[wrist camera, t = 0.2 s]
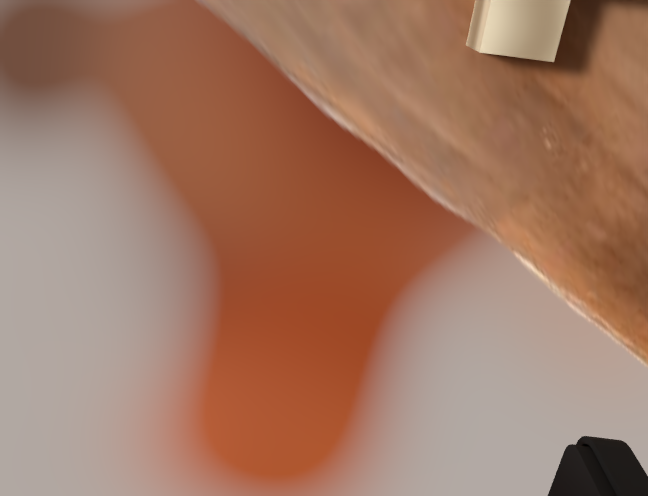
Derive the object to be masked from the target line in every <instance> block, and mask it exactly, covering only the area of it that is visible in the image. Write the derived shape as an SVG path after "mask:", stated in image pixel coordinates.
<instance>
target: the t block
mask: <svg viewBox="0 0 648 496" xmlns="http://www.w3.org/2000/svg"><path fill="white" fill-rule="evenodd" d="M570 1H571V0H475V5H474V10H473V15H472V19H471V24H470V29H469V34H468V38H467V43H466V46H468V47H470V48H472V49H474V50H476V51H478V52H481V53H488V54H496V55H504V56H511V57H519V58H526V59H534V60H541V61H549V62H554V60H555V56H556V52H557V48H558V45H559V41H560V37H561V34H562V30H563V26H564V23H565V19H566V15H567V12H568V8H569V4H570Z"/></svg>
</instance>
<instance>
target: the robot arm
mask: <svg viewBox="0 0 648 496" xmlns="http://www.w3.org/2000/svg"><path fill="white" fill-rule="evenodd" d="M548 496H648V476H647V474H646V473H645V471H644V470H643V468H642V466H641V465H640V463H639V461H638V460H637V458H636V457H635V455H634V453H633V452H632V450H631V448H630V447H629V446H628V445H627V444H626V443H625V442H623V441H621V440H613V439H605V438H597V437H589V436H584V437H581V438H580V439H579V440H578V442H577V444H576V445H573V444H572V445H568V446H567V447H566V449H565V451H564V454H563V457H562V459H561V462H560V464H559V468H558V470H557V472H556V475H555V478H554V481H553V483H552V486H551V489H550V491H549V494H548Z"/></svg>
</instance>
